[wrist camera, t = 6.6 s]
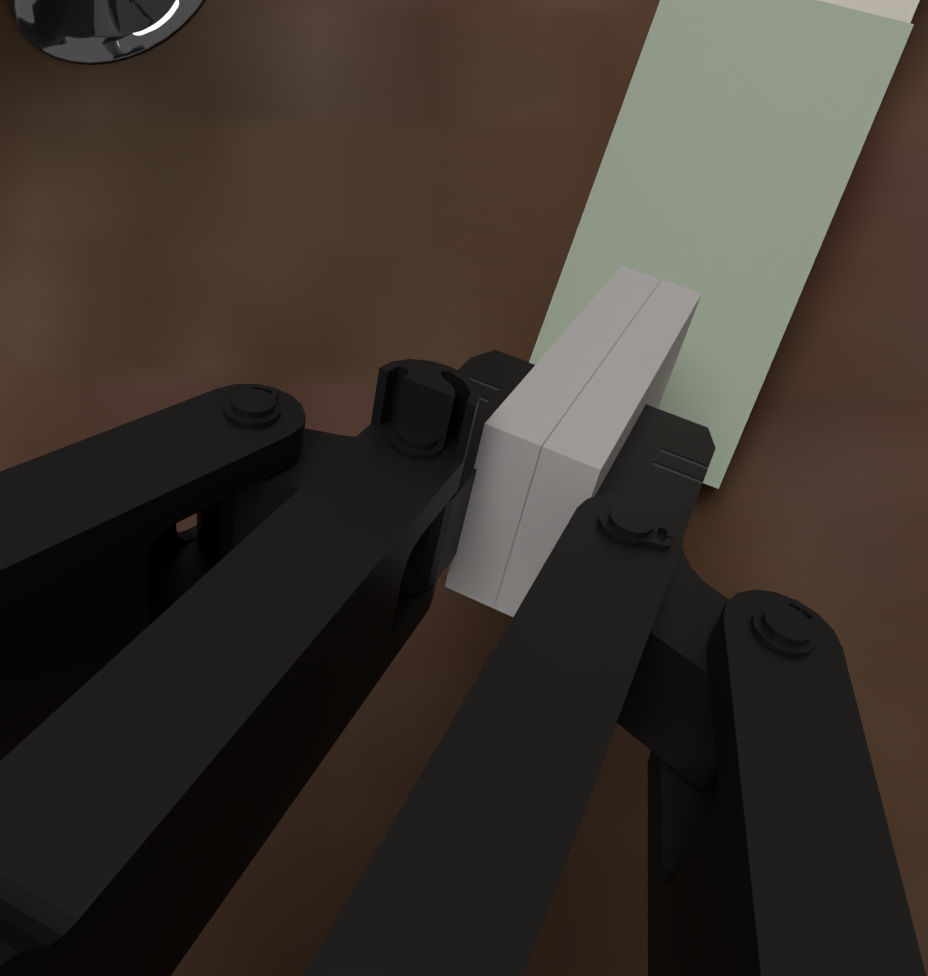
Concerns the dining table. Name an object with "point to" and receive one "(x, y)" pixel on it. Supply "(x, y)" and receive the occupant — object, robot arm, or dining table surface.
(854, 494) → the dining table surface
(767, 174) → the domino
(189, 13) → the wine glass
